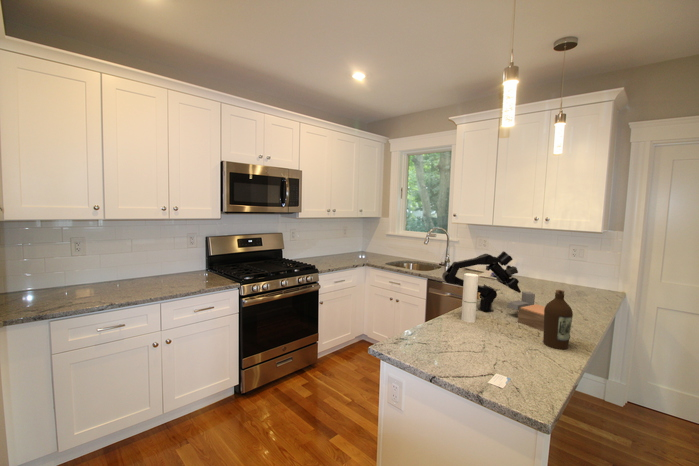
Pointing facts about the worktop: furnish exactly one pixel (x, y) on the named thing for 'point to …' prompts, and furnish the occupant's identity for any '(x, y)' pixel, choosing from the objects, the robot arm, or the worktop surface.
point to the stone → (528, 297)
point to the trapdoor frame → (531, 319)
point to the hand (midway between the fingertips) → (516, 290)
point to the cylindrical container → (469, 297)
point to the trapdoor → (526, 307)
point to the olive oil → (557, 322)
